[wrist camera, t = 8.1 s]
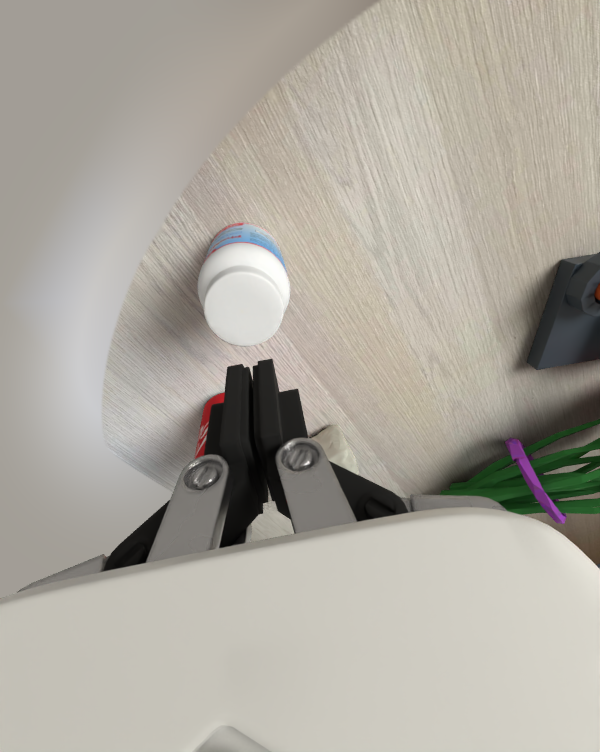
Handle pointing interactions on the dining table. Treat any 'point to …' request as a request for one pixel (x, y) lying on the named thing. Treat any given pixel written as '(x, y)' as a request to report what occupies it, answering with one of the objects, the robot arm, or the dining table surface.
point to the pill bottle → (244, 285)
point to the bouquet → (539, 479)
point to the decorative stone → (337, 448)
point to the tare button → (597, 292)
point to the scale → (570, 316)
